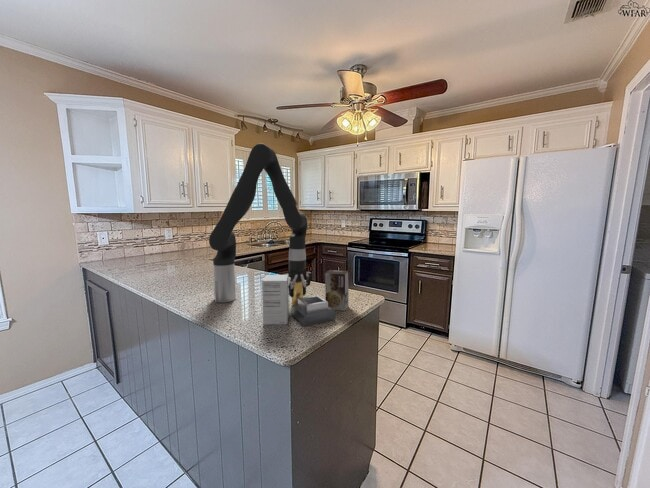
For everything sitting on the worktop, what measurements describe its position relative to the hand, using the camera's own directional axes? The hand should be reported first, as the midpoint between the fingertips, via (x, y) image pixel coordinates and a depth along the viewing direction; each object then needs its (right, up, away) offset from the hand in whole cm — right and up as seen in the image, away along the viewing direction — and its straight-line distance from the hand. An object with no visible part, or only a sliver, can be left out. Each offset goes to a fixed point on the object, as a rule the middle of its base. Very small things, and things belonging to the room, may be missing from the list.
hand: (297, 295), depth 122 cm
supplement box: (-6, -6, -16) cm, 19 cm away
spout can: (0, -3, +1) cm, 4 cm away
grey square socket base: (+8, -6, -14) cm, 17 cm away
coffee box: (+18, -5, -3) cm, 19 cm away
